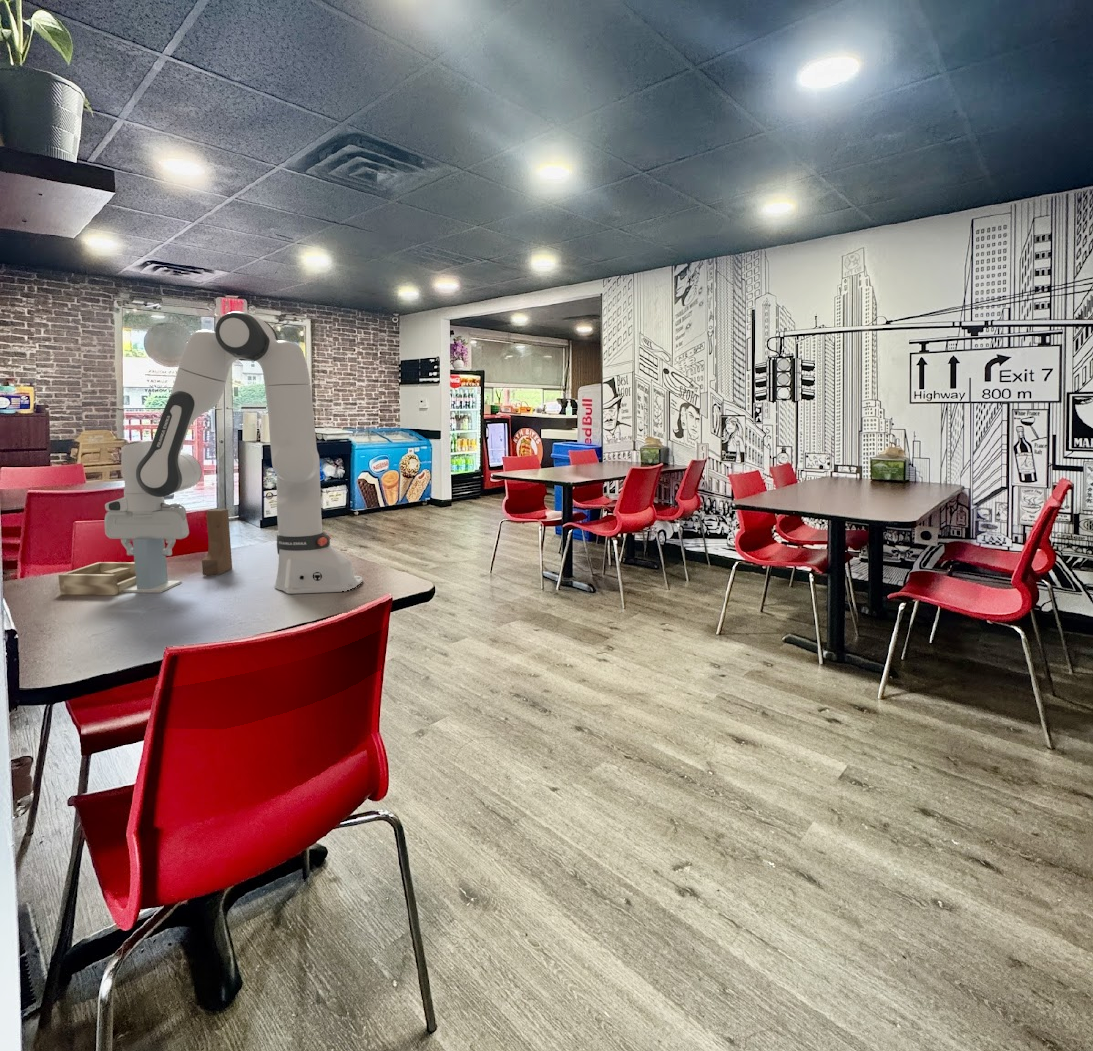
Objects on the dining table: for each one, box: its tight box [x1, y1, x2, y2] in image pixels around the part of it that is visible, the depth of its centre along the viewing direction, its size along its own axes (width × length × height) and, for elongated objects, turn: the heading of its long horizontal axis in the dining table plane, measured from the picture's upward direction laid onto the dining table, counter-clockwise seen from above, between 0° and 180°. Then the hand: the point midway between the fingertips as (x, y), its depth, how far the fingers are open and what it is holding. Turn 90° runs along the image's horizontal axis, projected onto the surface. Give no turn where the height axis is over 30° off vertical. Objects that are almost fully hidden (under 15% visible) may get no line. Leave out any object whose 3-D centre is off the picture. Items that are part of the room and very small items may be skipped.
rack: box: [57, 561, 137, 596], centre depth 177 cm, size 14×15×5 cm
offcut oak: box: [102, 568, 131, 581], centre depth 177 cm, size 3×6×2 cm, turn 165°
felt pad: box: [122, 580, 182, 594], centre depth 177 cm, size 10×10×1 cm
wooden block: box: [201, 508, 233, 576], centre depth 193 cm, size 9×4×18 cm, turn 0°
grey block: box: [131, 538, 169, 589], centre depth 176 cm, size 4×8×13 cm, turn 0°
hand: (149, 555), depth 176 cm, fingers open, 8 cm apart
